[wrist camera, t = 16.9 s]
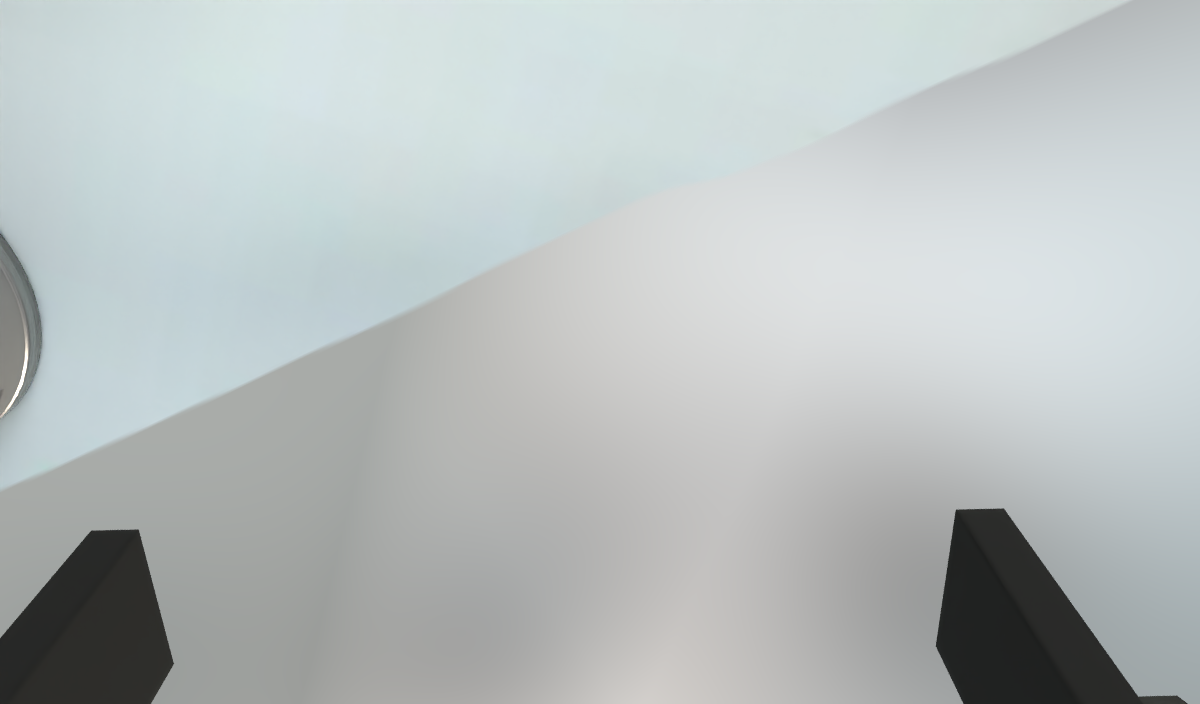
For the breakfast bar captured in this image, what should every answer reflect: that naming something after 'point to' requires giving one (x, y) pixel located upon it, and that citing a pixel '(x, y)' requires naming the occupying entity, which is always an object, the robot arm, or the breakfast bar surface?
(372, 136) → the breakfast bar surface
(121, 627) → the robot arm
